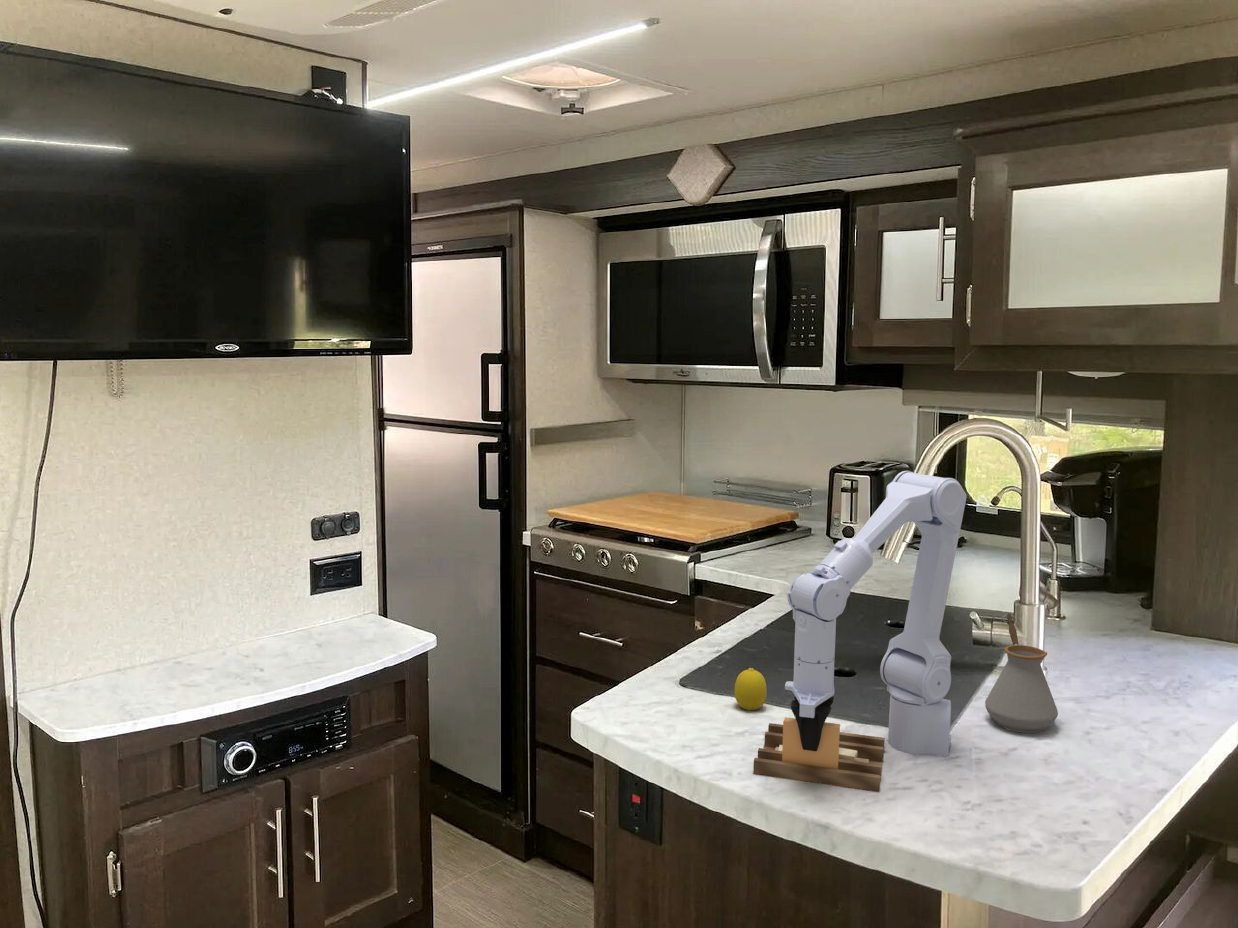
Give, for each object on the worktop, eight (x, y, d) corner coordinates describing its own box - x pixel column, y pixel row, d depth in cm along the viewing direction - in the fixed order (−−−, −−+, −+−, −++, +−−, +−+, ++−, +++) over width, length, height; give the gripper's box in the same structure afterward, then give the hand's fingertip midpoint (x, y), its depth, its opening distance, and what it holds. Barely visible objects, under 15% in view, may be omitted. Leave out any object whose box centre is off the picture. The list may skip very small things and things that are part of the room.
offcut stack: (868, 762, 149) (869, 749, 149) (867, 772, 146) (867, 759, 146) (776, 750, 153) (776, 737, 153) (772, 759, 150) (773, 746, 150)
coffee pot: (1064, 740, 160) (1070, 651, 158) (989, 734, 163) (995, 646, 161) (1036, 693, 181) (1042, 614, 179) (970, 688, 183) (975, 610, 181)
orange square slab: (837, 775, 145) (839, 723, 144) (836, 780, 143) (839, 728, 142) (783, 768, 147) (784, 717, 146) (781, 772, 146) (783, 721, 145)
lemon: (744, 703, 175) (746, 660, 174) (772, 711, 171) (773, 667, 170) (727, 713, 171) (728, 668, 169) (755, 721, 167) (756, 676, 166)
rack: (884, 752, 155) (885, 734, 155) (878, 798, 140) (879, 778, 140) (770, 737, 160) (770, 720, 160) (752, 780, 145) (753, 760, 145)
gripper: (793, 639, 151) (790, 724, 153) (779, 670, 137) (776, 762, 139) (840, 644, 149) (836, 730, 151) (830, 676, 135) (826, 770, 137)
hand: (810, 746), depth 145 cm, fingers closed on orange square slab, 2 cm apart
